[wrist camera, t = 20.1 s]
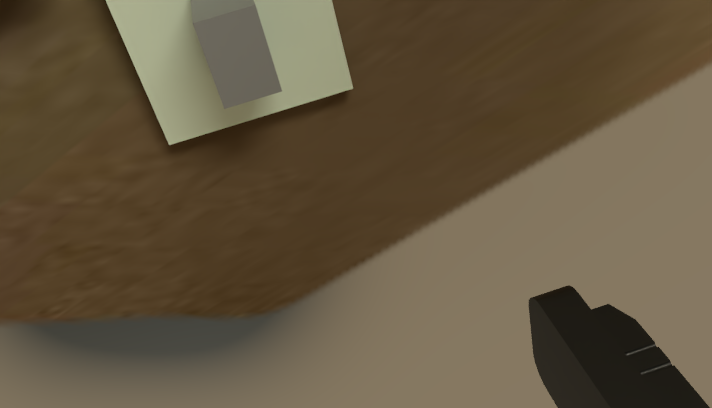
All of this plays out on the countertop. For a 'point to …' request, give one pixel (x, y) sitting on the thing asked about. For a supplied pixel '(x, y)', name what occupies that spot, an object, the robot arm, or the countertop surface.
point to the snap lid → (230, 58)
